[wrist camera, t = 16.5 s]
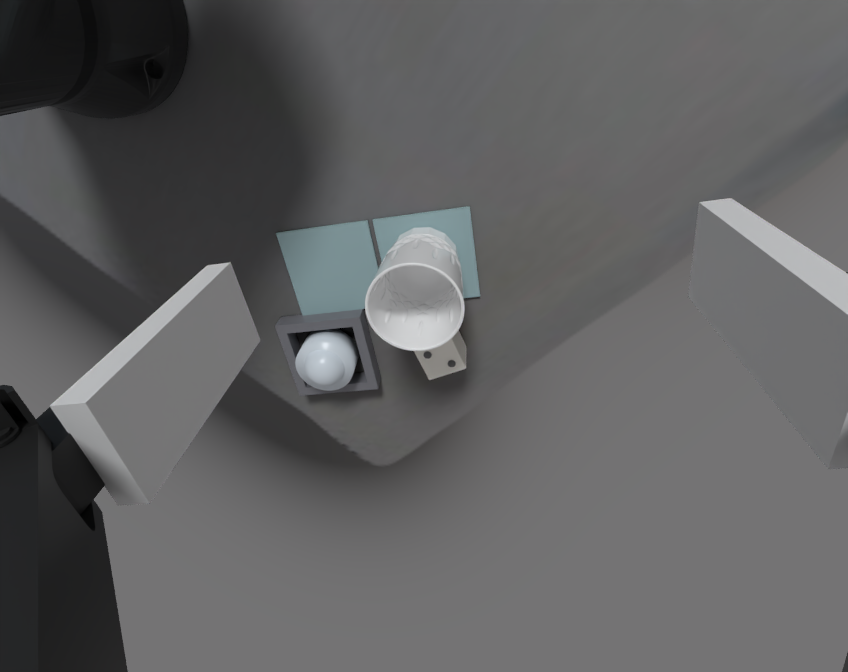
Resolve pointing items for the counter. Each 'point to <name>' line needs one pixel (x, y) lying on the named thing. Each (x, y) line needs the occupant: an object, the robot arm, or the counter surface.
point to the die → (444, 358)
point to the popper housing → (333, 320)
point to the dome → (327, 359)
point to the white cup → (417, 291)
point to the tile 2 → (446, 221)
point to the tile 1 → (330, 266)
